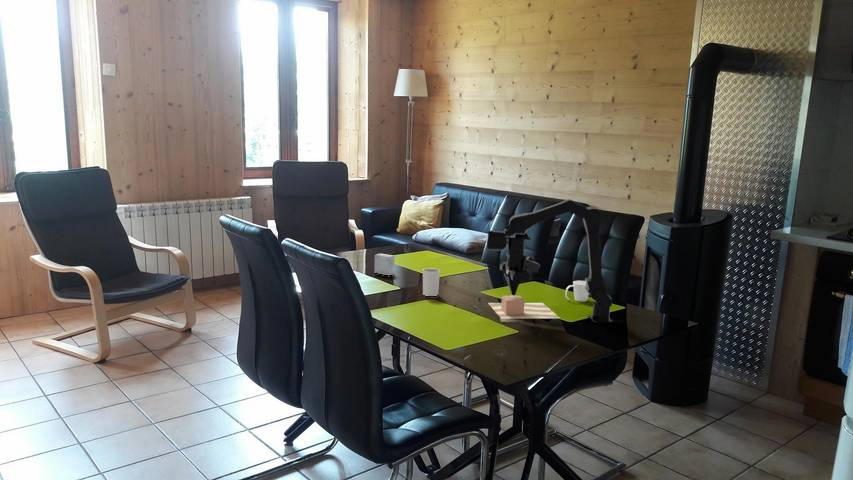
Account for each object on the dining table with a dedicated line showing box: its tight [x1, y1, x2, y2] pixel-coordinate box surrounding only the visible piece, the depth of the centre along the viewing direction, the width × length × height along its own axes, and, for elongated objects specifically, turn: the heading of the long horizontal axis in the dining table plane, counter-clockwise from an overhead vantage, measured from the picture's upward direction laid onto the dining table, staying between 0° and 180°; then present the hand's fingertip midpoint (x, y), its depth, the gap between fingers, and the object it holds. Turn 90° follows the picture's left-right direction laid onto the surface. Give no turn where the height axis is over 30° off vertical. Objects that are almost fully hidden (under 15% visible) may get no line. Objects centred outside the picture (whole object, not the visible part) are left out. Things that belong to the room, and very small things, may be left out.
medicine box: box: [373, 253, 396, 277], centre depth 295 cm, size 8×4×9 cm, turn 58°
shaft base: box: [487, 302, 561, 323], centre depth 242 cm, size 20×21×5 cm
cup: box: [564, 280, 590, 303], centre depth 259 cm, size 7×10×8 cm
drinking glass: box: [422, 267, 441, 297], centre depth 262 cm, size 7×7×10 cm
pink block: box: [501, 295, 525, 314], centre depth 239 cm, size 6×6×5 cm
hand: (513, 294), depth 238 cm, fingers closed
